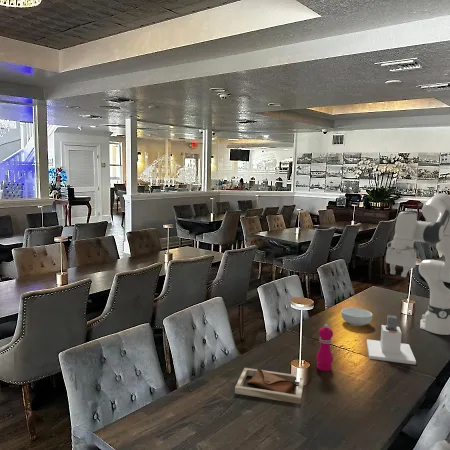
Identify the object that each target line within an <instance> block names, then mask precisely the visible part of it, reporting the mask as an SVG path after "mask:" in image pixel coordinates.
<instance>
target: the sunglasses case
mask: <svg viewBox="0 0 450 450" xmlns="http://www.w3.org/2000/svg"><path fill="white" fill-rule="evenodd" d="M262 370H263V369H260V368H257V371H256V373H255V374H254V376H251V378H250V379H249V381H247V384H250V385H253V386H256V387H257V388H259V389H262V390H269V391H275V392H282V393H288V394H294V392H295V391H296V385H295V382H291V381H287V380H285V379H282V378H280V377H278V376H275V375H273V374H270V373H267V372H265V371H266V370H264V371H262Z"/></svg>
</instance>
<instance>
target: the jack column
mask: <svg viewBox="0 0 450 450" xmlns="http://www.w3.org/2000/svg"><path fill="white" fill-rule="evenodd" d="M386 325H387V326H386V330H391V331H396V329H397V327H398V317H397V315H391V314H387V315H386Z"/></svg>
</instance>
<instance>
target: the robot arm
mask: <svg viewBox="0 0 450 450" xmlns="http://www.w3.org/2000/svg"><path fill="white" fill-rule="evenodd" d="M421 212H422V215H423V217H424V219H426V220H427V221H422V220H418V214H417V212H414V211H410V210H409V211H408V210H407V211H406V210H405V211H404V210H402V211H400V212H399V213H398V215H397V217H396V222H395V227H394V231H395V232H394V236H393V240H391V241H389V242H387V245H386V247H387V249H386V253H385V254H386V255H385V263H386V264H389V268H390V274H391V275H396V272H397V271H396V266H399V267H403V270H402V272H400V274H401V275H400V277H403V278H407V274H408V273H409V271H410V269H415V267H416V265H417V252H416V250H415V247H414V243H415V242H419V243H420V242H421V243H426V244H431V245H436V246H435V247H436V248H435V249H436V251H437V252H438V253H439V254H441V255H443V256H444V258H445V261H443V260H437V259H424V260H422V261H421V262H420V263H419V265H418V273H419V274H420V276H421V277H422V278H423V279H424V280H425V282H426V284H427V285H428V288H429V303H428V305H427V310H426V312H425V313H424V314H421V319H420V323H419V325H420V326H419V329H420V330H421V329H422V330H424V331H427V332H429V333H433V334H435V335H436V334H437V335H442V336H443V335H444V336H445V335H447V336H449V335H450V288H448V287H446V286H445V283H449V284H450V195H449V194H448V193H444V192H441V193H437V194H435V195H433V196H432V197H430V198H429V199H428V200H427V201H426V202H425V203H423V206H422V208H421Z"/></svg>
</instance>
